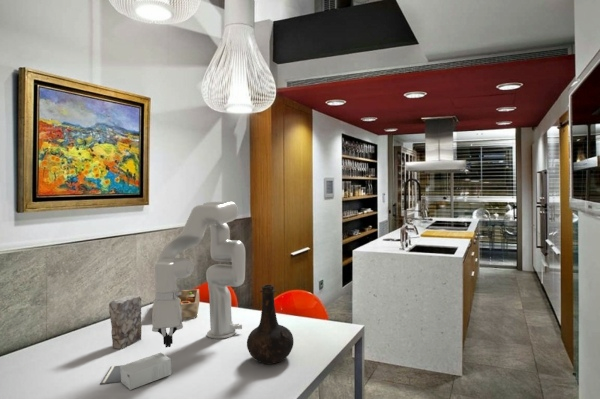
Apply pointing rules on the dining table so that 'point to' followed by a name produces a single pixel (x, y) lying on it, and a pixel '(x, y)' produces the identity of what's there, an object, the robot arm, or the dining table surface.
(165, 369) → the skincare box
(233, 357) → the dining table surface
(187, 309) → the crate
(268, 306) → the glass bottle
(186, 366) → the dining table surface
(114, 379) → the mat
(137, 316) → the stone block
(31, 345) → the dining table surface
